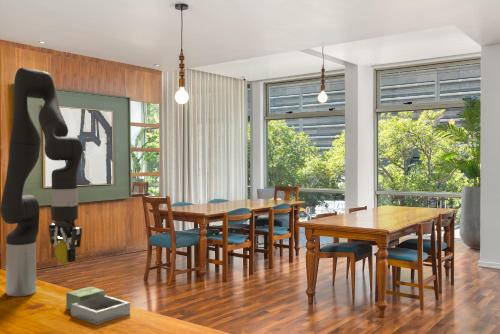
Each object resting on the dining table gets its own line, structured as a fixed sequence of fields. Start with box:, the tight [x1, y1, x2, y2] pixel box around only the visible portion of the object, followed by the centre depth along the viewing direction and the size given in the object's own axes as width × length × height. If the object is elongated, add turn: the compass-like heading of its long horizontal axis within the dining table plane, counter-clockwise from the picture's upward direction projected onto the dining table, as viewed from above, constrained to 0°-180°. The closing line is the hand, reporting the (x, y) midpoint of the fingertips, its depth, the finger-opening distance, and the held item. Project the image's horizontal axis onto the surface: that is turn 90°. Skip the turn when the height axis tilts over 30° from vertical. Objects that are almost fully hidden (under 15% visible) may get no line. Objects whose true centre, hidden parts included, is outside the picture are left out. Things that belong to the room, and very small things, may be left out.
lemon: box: [54, 239, 71, 265], centre depth 152 cm, size 6×6×8 cm
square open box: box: [65, 286, 131, 326], centre depth 154 cm, size 19×12×5 cm, turn 53°
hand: (65, 260), depth 152 cm, fingers closed on lemon, 5 cm apart
